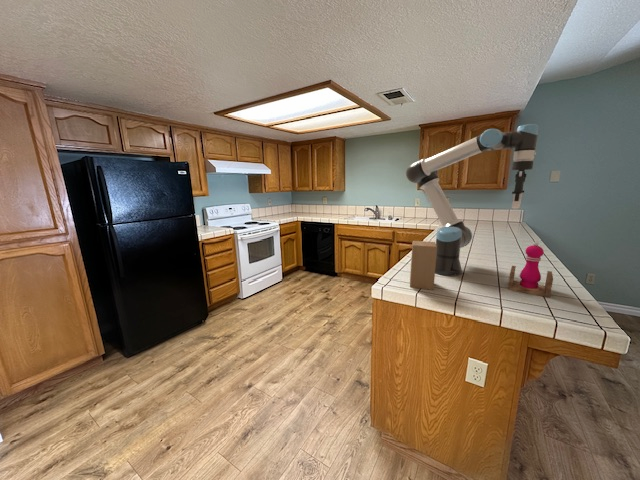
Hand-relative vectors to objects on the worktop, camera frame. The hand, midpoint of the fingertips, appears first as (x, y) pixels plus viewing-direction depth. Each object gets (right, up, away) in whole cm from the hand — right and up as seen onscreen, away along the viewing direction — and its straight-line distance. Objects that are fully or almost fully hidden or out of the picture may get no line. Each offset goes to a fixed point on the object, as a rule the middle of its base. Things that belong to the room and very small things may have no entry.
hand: (516, 207), depth 122 cm
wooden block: (-46, -37, -2) cm, 59 cm away
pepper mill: (-1, -36, -9) cm, 37 cm away
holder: (-1, -37, -9) cm, 38 cm away
